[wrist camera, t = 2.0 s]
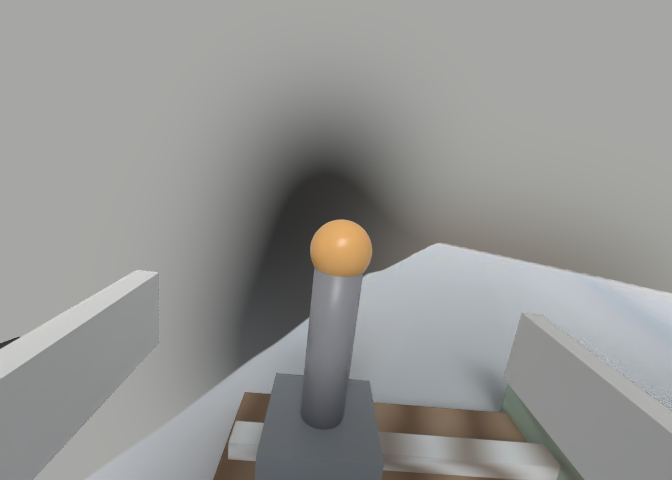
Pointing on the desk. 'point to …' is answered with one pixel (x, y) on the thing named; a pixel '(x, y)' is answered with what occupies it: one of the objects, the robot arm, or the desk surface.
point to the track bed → (391, 425)
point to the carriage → (326, 378)
